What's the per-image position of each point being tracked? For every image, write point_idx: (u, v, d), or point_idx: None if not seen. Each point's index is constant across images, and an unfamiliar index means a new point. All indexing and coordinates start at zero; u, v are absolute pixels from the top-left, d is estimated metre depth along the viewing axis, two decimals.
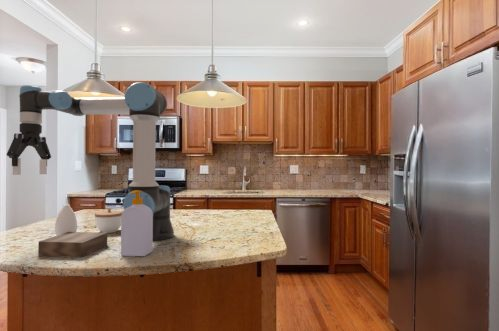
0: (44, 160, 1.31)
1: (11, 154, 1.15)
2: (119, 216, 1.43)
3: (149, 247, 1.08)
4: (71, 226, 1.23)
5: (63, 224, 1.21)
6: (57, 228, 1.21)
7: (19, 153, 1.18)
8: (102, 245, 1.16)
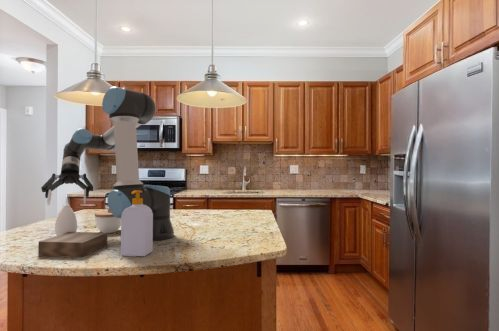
0: (84, 190, 1.38)
1: None
2: None
3: (149, 247, 1.08)
4: (71, 226, 1.23)
5: (63, 224, 1.21)
6: (57, 228, 1.21)
7: (50, 186, 1.33)
8: (102, 245, 1.16)
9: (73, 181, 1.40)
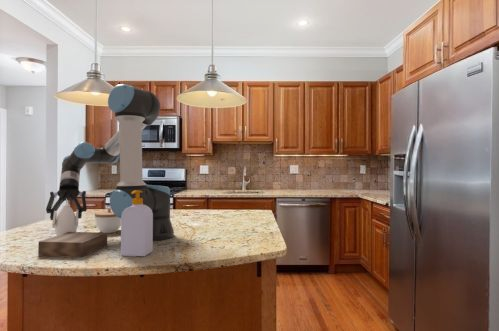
0: None
1: (46, 209, 1.23)
2: None
3: (149, 247, 1.08)
4: (71, 226, 1.23)
5: (63, 224, 1.21)
6: (57, 228, 1.21)
7: (54, 207, 1.25)
8: (102, 245, 1.16)
9: (72, 198, 1.31)
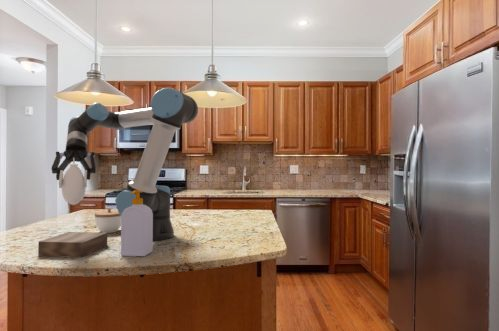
0: None
1: (51, 168, 1.12)
2: (119, 216, 1.43)
3: (149, 247, 1.08)
4: (80, 187, 1.12)
5: (70, 184, 1.10)
6: (64, 188, 1.10)
7: (60, 166, 1.13)
8: (102, 245, 1.16)
9: None
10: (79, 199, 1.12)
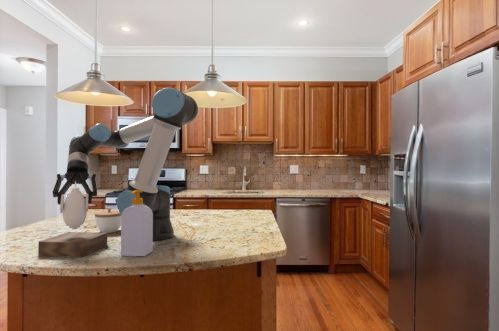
0: (86, 195, 1.14)
1: None
2: (119, 216, 1.43)
3: (149, 247, 1.08)
4: (81, 211, 1.10)
5: (71, 209, 1.09)
6: (65, 213, 1.09)
7: (61, 190, 1.12)
8: (102, 245, 1.16)
9: (81, 181, 1.19)
10: (80, 224, 1.11)
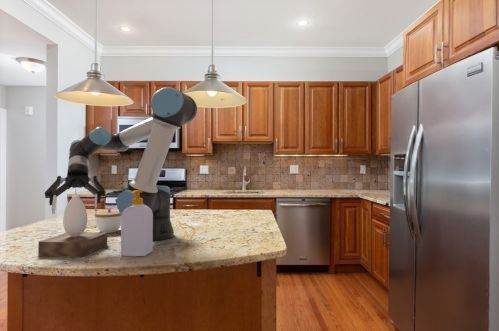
0: (95, 195, 1.16)
1: None
2: (119, 216, 1.43)
3: (149, 247, 1.08)
4: (81, 219, 1.10)
5: (72, 217, 1.09)
6: (66, 221, 1.08)
7: (55, 191, 1.12)
8: (102, 245, 1.16)
9: (82, 185, 1.19)
10: (81, 231, 1.11)
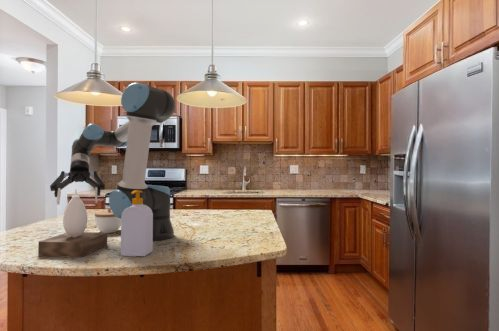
0: None
1: (50, 186, 1.23)
2: None
3: (149, 247, 1.08)
4: (82, 219, 1.10)
5: (72, 217, 1.08)
6: (66, 222, 1.08)
7: (59, 184, 1.24)
8: (102, 245, 1.16)
9: (83, 179, 1.31)
10: (81, 232, 1.11)
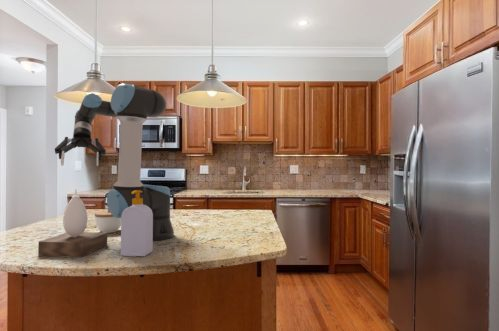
0: (96, 153, 1.38)
1: (55, 149, 1.32)
2: None
3: (149, 247, 1.08)
4: (82, 219, 1.10)
5: (72, 217, 1.08)
6: (66, 222, 1.08)
7: (63, 148, 1.34)
8: (102, 245, 1.16)
9: (85, 145, 1.40)
10: (81, 232, 1.11)
